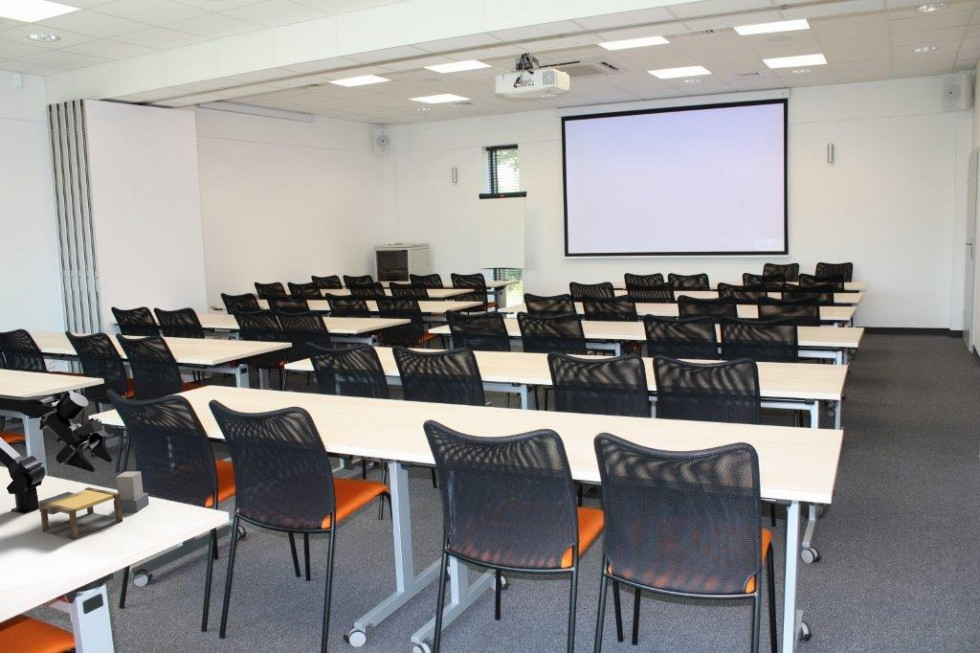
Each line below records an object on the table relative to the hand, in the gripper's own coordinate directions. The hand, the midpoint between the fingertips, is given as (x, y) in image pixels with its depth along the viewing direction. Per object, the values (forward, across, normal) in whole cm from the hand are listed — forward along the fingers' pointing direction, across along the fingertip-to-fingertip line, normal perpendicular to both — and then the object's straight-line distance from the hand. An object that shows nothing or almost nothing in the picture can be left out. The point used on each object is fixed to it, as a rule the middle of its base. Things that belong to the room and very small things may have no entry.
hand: (102, 466), depth 245 cm
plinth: (+15, 0, +4) cm, 15 cm away
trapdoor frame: (+10, -14, +8) cm, 19 cm away
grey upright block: (+12, 0, +1) cm, 12 cm away
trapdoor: (+5, -13, +8) cm, 16 cm away
